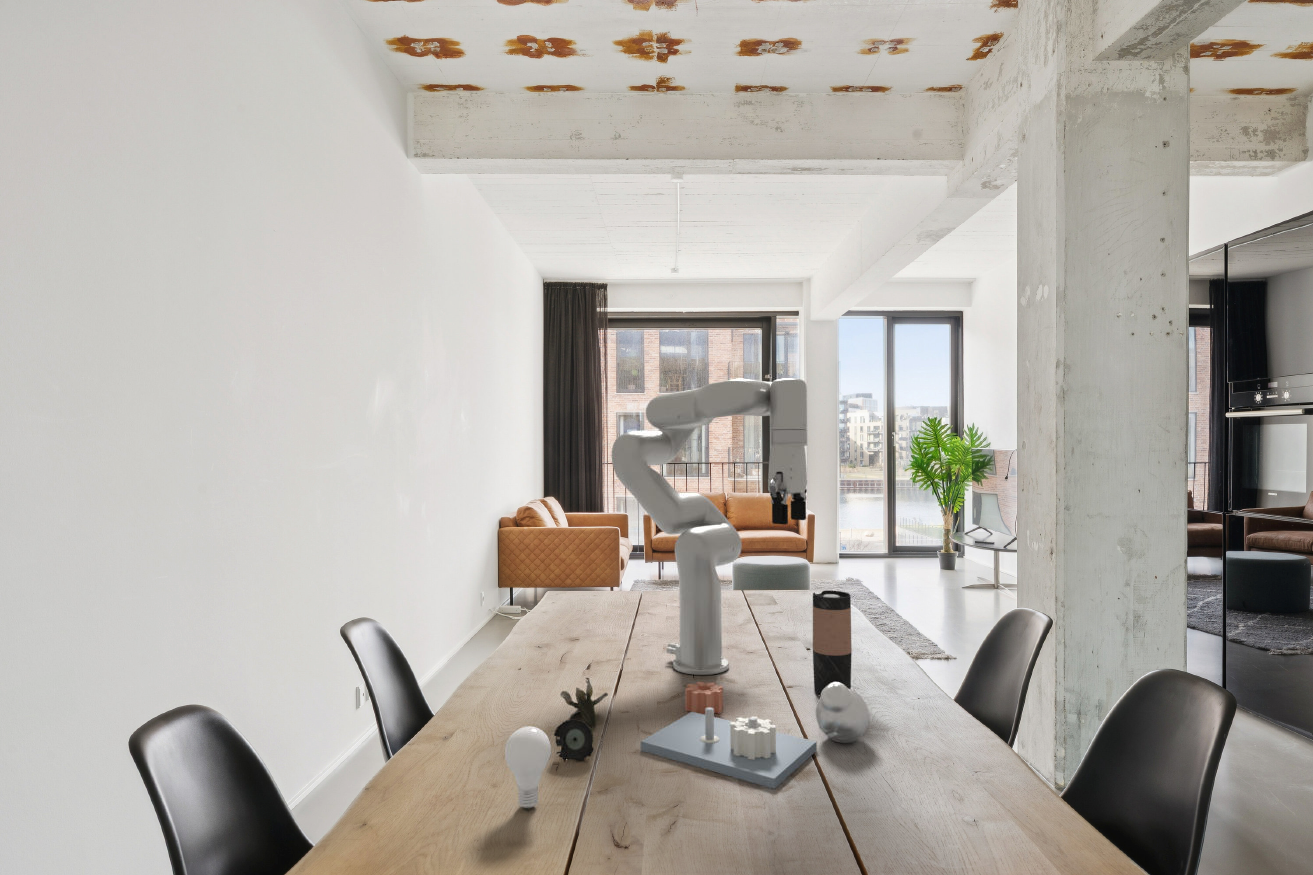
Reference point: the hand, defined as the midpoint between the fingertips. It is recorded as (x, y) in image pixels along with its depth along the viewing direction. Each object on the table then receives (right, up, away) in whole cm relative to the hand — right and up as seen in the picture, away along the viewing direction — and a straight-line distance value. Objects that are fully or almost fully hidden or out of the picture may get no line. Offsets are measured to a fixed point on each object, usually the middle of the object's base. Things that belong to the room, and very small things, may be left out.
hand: (789, 521), depth 149 cm
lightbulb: (-45, -34, -49) cm, 75 cm away
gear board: (-16, -34, -30) cm, 48 cm away
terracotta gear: (-18, -34, -11) cm, 41 cm away
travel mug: (+8, -35, -3) cm, 36 cm away
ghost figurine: (+4, -34, -27) cm, 44 cm away
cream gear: (-12, -32, -34) cm, 48 cm away
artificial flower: (-41, -35, -23) cm, 58 cm away
